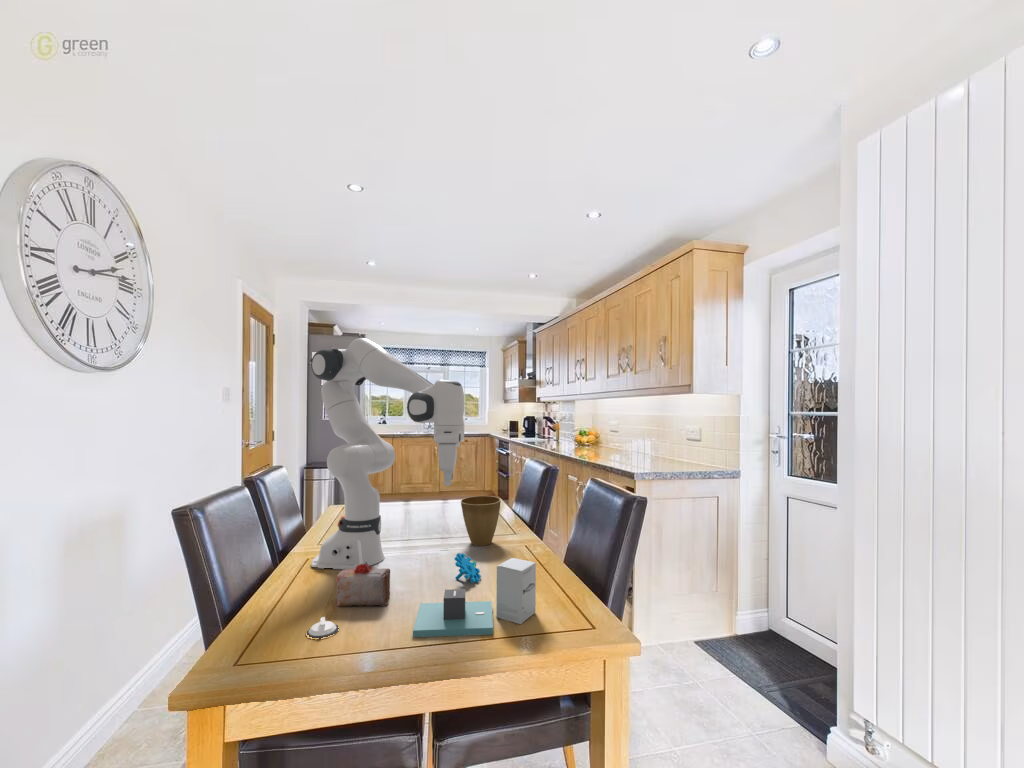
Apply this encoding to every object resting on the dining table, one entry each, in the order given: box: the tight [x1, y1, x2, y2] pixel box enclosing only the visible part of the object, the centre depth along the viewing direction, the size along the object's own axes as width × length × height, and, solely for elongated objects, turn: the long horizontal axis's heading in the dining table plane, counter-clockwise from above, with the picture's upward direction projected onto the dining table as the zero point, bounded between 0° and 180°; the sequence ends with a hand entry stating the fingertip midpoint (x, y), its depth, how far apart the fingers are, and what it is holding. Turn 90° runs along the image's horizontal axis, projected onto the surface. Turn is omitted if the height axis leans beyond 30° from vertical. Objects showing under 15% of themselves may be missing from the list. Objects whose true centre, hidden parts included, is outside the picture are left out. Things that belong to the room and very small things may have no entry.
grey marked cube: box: [443, 588, 467, 620], centre depth 112 cm, size 5×5×5 cm
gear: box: [454, 552, 482, 584], centre depth 138 cm, size 11×6×10 cm
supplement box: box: [495, 557, 537, 625], centre depth 115 cm, size 7×7×13 cm
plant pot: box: [460, 495, 502, 547], centre depth 173 cm, size 15×15×16 cm
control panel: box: [412, 600, 494, 638], centre depth 112 cm, size 18×14×4 cm
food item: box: [335, 561, 391, 607], centre depth 123 cm, size 14×8×10 cm, turn 92°
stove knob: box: [306, 616, 340, 639], centre depth 107 cm, size 7×7×3 cm
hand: (448, 482), depth 135 cm, fingers open, 8 cm apart
